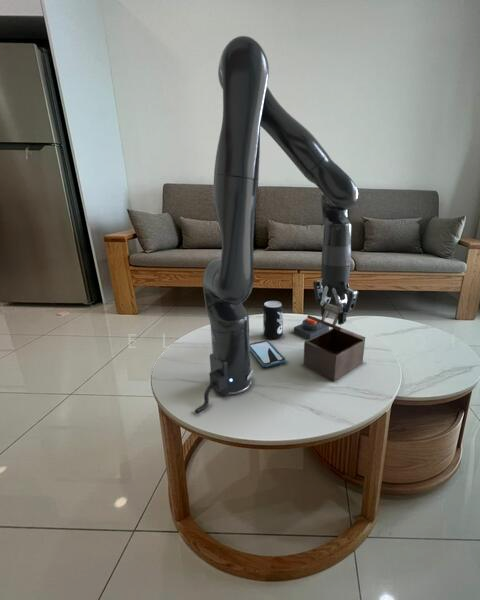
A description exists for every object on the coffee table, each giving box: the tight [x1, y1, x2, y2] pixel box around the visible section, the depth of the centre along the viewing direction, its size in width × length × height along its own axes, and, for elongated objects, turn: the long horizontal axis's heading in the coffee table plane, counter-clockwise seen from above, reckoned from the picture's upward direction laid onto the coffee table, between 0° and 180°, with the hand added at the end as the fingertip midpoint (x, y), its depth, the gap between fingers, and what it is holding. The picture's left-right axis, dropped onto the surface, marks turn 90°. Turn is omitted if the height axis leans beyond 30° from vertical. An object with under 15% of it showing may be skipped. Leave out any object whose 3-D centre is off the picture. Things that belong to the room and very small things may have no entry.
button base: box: [293, 318, 330, 340], centre depth 114 cm, size 10×8×4 cm
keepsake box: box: [303, 328, 366, 382], centre depth 94 cm, size 14×12×8 cm
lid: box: [306, 303, 367, 341], centre depth 92 cm, size 14×12×6 cm
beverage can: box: [262, 300, 284, 340], centre depth 109 cm, size 7×7×12 cm
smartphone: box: [250, 339, 287, 368], centre depth 99 cm, size 7×1×15 cm
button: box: [306, 316, 317, 325], centre depth 114 cm, size 4×4×2 cm
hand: (333, 320), depth 89 cm, fingers closed on lid, 5 cm apart
